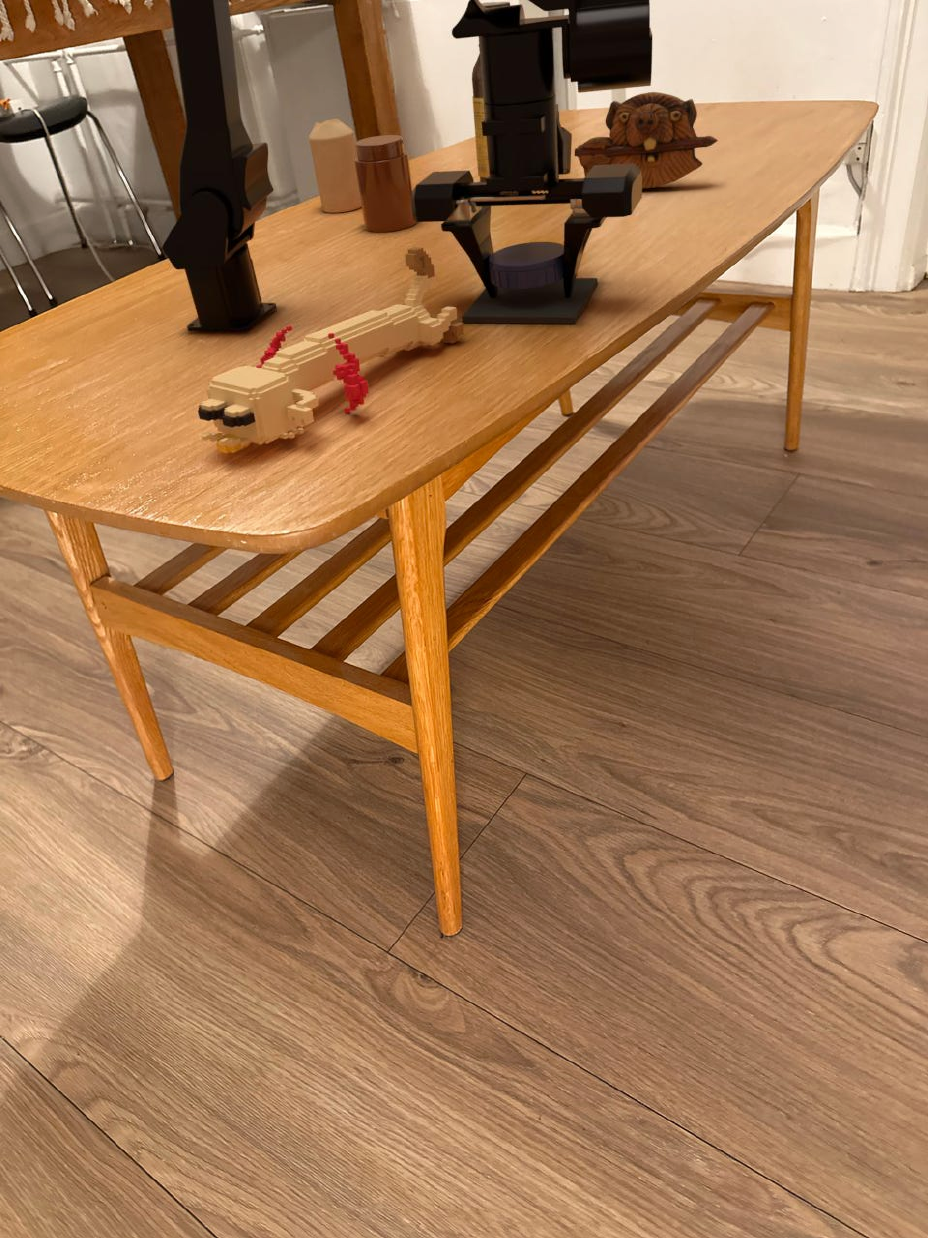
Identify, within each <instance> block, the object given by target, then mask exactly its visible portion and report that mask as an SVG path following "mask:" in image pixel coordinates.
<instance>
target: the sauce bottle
mask: <svg viewBox="0 0 928 1238" xmlns="http://www.w3.org/2000/svg"><path fill="white" fill-rule="evenodd" d="M480 3H481V2H480ZM481 4H482V5H483V6H484V7H486V8H493V7H502V6H511V2H510V1H491V2H489V1H488V2H482V3H481ZM478 48H479V47H478ZM478 50H479V51H478V52H479V54H478V56H477V59H476V61H475V63H474V65H473V68H472V71H471V84H472V97H471V98H472V111H473V124H474V136H475V138H474V139H475V151H476V163H477V165H476V166H477V175H478V177H479V182H486V178H487V177H488V176H490V174H489V162H488V149H487V137H486V136H483V134H482V121H484V120H485V112H484V98H483V86H482V73H481V61H480V48H479V49H478ZM505 194H509V193H508V192H506V193H505Z"/></svg>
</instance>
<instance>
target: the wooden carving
mask: <svg viewBox="0 0 928 1238" xmlns="http://www.w3.org/2000/svg"><path fill="white" fill-rule="evenodd" d="M608 107H609V108H608V112H607V114H606V118H605V125H606V127H607V129H608V130H609V134H608V136H595V137H592V138H591V137H590V138H589V139H588V140H586V141H585V142H583V143H581V144H579V145H578V146H577V147H575V148H574V157H575V158H576V157H577V158H578V161H579V164H580V166H581V167H582V169H583V174H584V177H585V176H586V175H587V174H588V172H589V171H590V170H591V169H592V167H593V166H594V165H609V164H632V163H635V164H636V166H637V167H638V168H639V169H640V171H641V174H642V189H651V188H659V187H662V186H666V185H669V184H670V183H674V182H676V181H678V180H681V179H682V178H684V177H685V176H688V175H690V174H691V173H693V172H694V171H696V170H697V169H699V168H701V166H703V162H702V161H701V160H700V159H699V158H697V157H696V149H699V148H700V149H701V148H708V147H711V146H713V145H715V144H716V143H717V142H718V141H719V140H718V139H717V138H716V137H714V136H712V135H706V136H697V134H696V130H695V128H694V125H695V123H696V120H697V116H698V112H697V107H696V104H695V101H694V99H693V98H690V99H687V100H683V99H681V98H680V97H678V96H676V95H672V94H669V93H665V92H657V91H649V92H643V93H639V94H636V95H634V96H631V97H629V98H627V99H626V100H624V101H623V102H619V101H617V100H613V101H612V102H610V104H609V106H608Z"/></svg>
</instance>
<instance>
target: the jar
mask: <svg viewBox="0 0 928 1238" xmlns="http://www.w3.org/2000/svg"><path fill="white" fill-rule="evenodd" d="M404 142H405V140H404V138H403V136H402V135H397V134H385V135H376V136H369V137H366V138H363V139H359V140H357V141H355V147H356V153H357V157H356V158H355V159H354V162H355V168H356V175H357V181H358V187H359V193H360V199H361V206H362V207H361V209H362V210H361V211H362V218H363V224H364V229H365V230H366V231H367V232H373V233H390V232H397V231H401V230H405V229H408V228H410V227H412V226H414V225H415V224H417V222H416V221H414V220H413V214H412V206H411V196H412V191H413V189H414V188H413V182H412V174H411V167H410V166H411V165H410V159H409V158H410V157H409V152H408V151H407V150H405V147H404Z"/></svg>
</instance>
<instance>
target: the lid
mask: <svg viewBox="0 0 928 1238" xmlns="http://www.w3.org/2000/svg"><path fill="white" fill-rule="evenodd" d="M493 252H494V253H493V254H492V255H491V256H490V257H489V264H490V265H489V269H490V278H491V283H492V284H493V285H495V286H497V287H499V288H504V289H515V290H517V289H518V290H519V289H531V288H537V287H542V286H546V285H549V284H552V283H555V282H557V281H560V280H561V279H563V269H564V244H562V243H560V242H554V241H530V242H523V243H518V244H513V245H509V246H506V247H502V248H501V249H498V250H496V251H493Z"/></svg>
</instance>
